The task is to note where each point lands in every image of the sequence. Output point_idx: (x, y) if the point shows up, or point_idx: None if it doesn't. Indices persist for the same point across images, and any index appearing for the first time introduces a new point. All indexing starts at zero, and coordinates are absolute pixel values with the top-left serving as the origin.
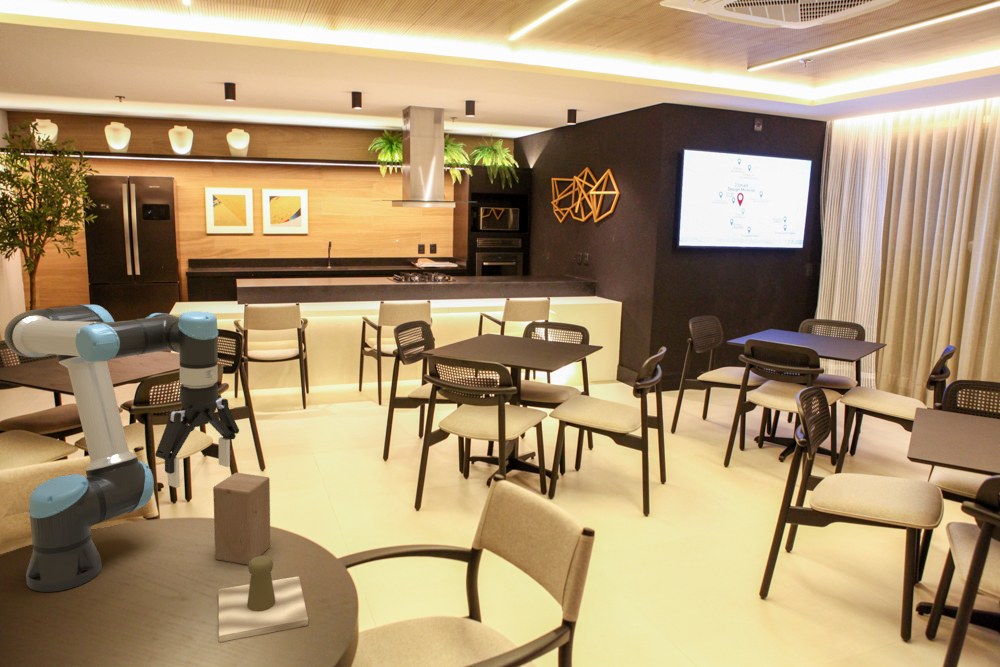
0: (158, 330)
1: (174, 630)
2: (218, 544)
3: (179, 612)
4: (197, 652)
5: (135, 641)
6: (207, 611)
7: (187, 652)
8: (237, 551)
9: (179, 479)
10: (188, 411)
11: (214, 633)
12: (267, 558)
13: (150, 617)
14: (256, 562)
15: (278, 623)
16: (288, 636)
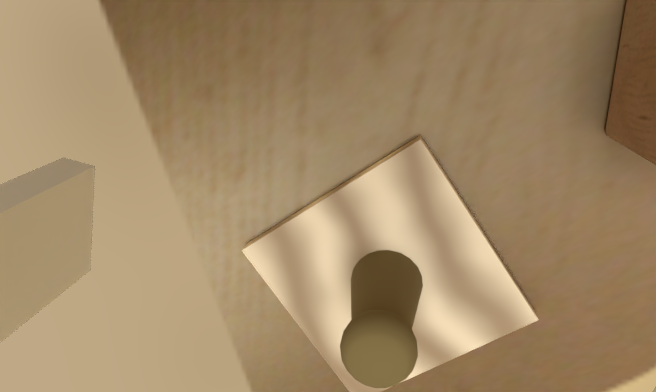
0: None
1: (249, 118)
2: (650, 8)
3: (317, 80)
4: (203, 218)
5: (182, 54)
6: (342, 150)
7: (195, 197)
8: (628, 95)
9: (44, 306)
10: None
11: (270, 216)
12: (388, 380)
13: (273, 17)
14: (355, 359)
15: (323, 351)
16: (312, 367)
